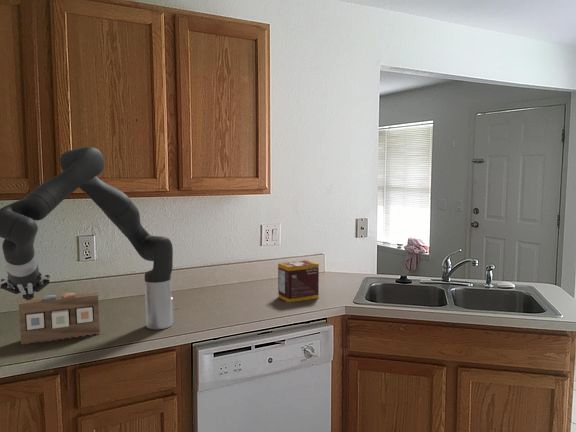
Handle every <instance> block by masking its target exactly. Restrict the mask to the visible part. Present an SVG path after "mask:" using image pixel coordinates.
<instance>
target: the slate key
mask: <svg viewBox="0 0 576 432" xmlns="http://www.w3.org/2000/svg"><path fill="white" fill-rule="evenodd" d="M26 319H27V330H31V329H39V328H44V327H45V314H44V312H36V313H28V314H27V315H26Z"/></svg>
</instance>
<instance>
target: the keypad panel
mask: <svg viewBox="0 0 576 432" xmlns="http://www.w3.org/2000/svg"><path fill="white" fill-rule="evenodd" d="M86 306H92V312H93V321H92V322H84V323H77V310H76V308H78V307H86ZM61 309H68V310H69V326H67V327H60V328H52V311H53V310H61ZM36 312H44V314H45V327H44V328H39V329H31V330H27V319H26V315H27V314H28V313H36ZM18 316H19V329H20V345H21V344H27V345H30V344H29V343H34V344H36V343H35V342H41V343H44V342H43V341H48V342H51V341H50V340H55V341H58V340H57V339H62V340H65V339H64V338H69V339H72V338H71V337H75V338H79V337H78V336H82V337H87V336H86V335H89V336H94V335H93V334H96V335H100V334H101V331H100V330H101V329H100V310H99V294H98V291H88V292H79V293H76V292H70V293H63V294H62V295H60V294H59V295H57V294H50V295H43V296H42V297H34V298H32V300H26V299H24V298H23V299H20V300H19V302H18ZM99 333H100V334H99Z"/></svg>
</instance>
